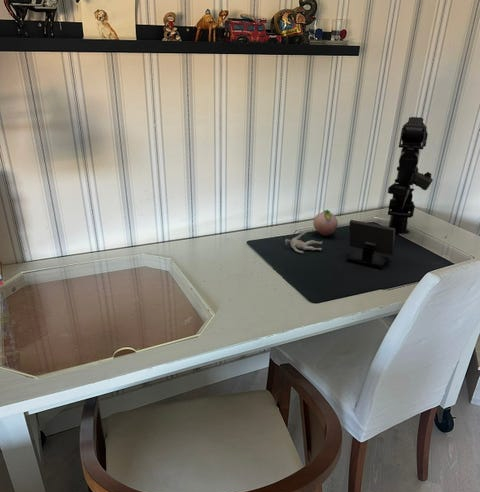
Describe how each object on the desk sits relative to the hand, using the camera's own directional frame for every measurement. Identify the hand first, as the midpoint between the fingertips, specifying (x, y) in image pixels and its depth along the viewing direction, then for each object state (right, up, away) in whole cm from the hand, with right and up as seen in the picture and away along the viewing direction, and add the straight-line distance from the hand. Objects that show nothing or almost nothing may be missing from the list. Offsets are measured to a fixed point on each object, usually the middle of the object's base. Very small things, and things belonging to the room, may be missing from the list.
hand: (400, 209), depth 169 cm
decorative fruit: (-25, -9, +9) cm, 28 cm away
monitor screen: (-13, -15, -12) cm, 23 cm away
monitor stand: (-14, -18, -11) cm, 26 cm away
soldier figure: (-34, -14, -4) cm, 37 cm away
